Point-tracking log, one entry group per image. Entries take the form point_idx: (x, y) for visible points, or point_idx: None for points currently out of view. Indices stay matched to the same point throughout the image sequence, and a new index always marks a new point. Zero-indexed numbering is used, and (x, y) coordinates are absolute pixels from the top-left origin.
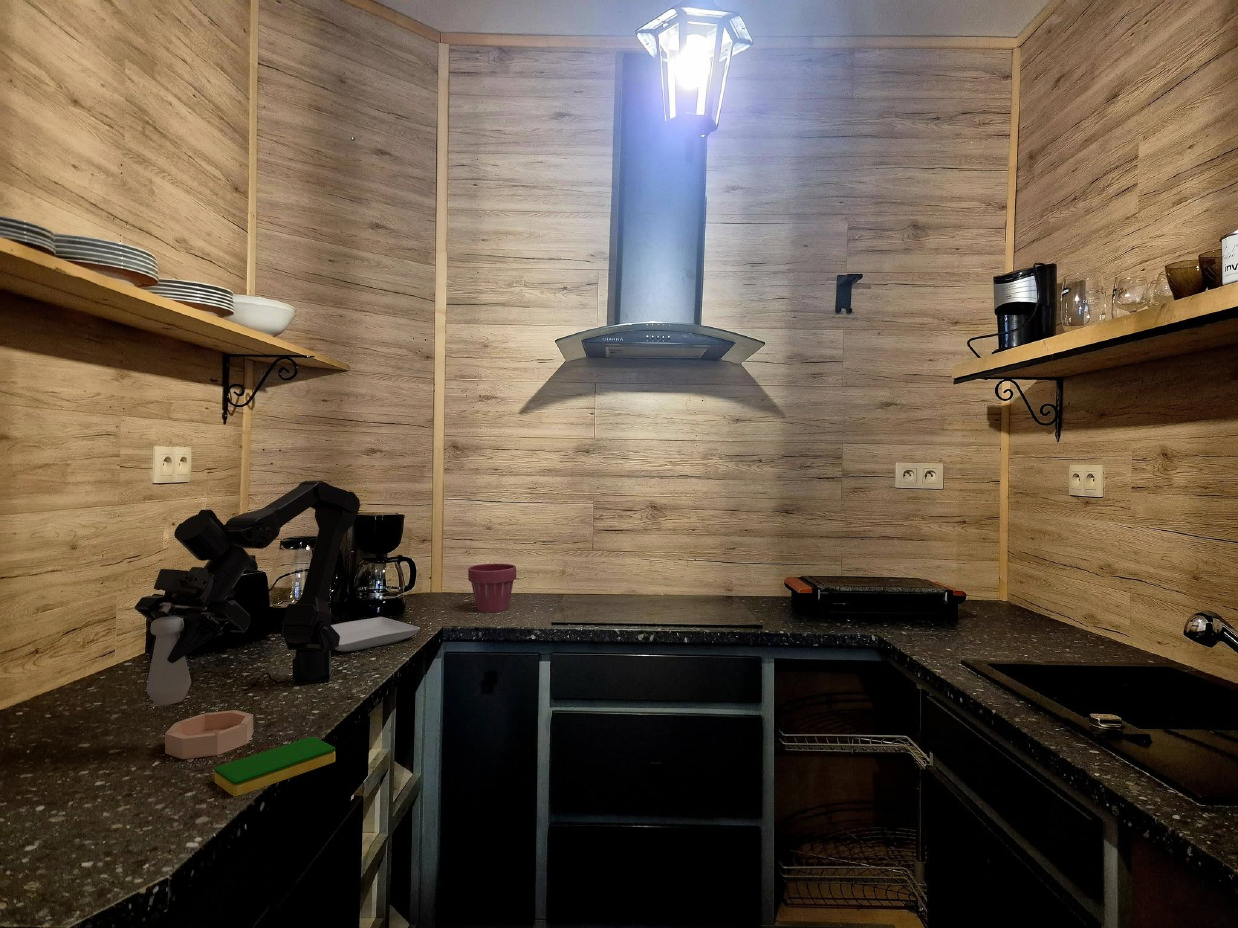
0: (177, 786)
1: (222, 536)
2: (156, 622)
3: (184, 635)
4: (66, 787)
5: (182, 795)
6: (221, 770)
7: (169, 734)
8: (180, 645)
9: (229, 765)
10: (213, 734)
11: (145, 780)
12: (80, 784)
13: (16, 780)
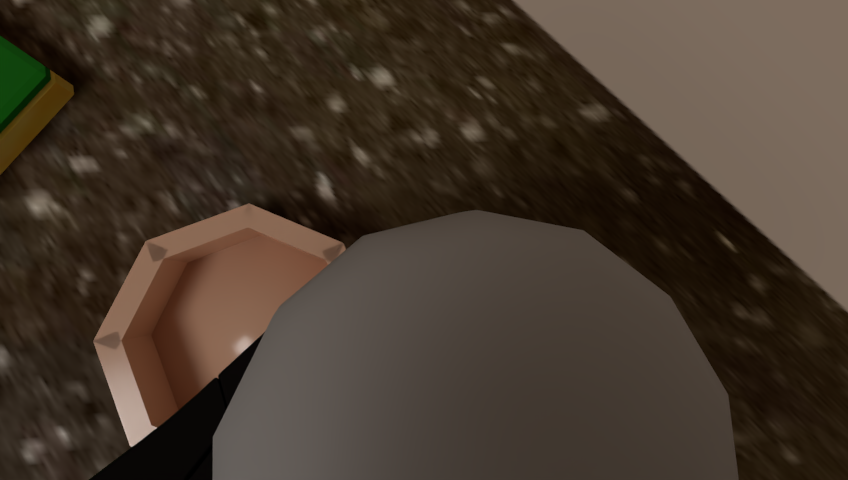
0: (162, 61)
1: None
2: (536, 237)
3: (216, 420)
4: (442, 54)
5: (113, 17)
6: (8, 49)
7: (322, 236)
8: (256, 339)
9: (2, 79)
10: (162, 243)
11: (274, 91)
12: (422, 69)
13: (591, 86)
